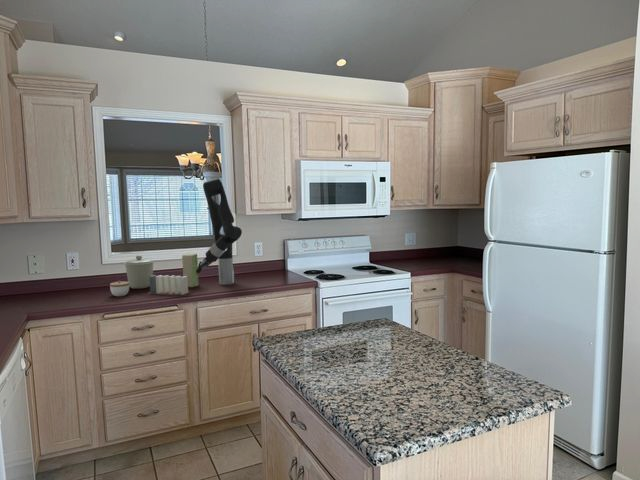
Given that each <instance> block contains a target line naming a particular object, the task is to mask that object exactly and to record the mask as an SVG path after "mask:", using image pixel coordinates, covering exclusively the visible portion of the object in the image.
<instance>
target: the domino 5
mask: <svg viewBox="0 0 640 480" xmlns="http://www.w3.org/2000/svg"><path fill="white" fill-rule="evenodd" d="M181 277H182V276H181V275H176V276H175V277H174V286H175V294H179V293H181V282H180V278H181Z"/></svg>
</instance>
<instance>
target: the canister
mask: <svg viewBox="0 0 640 480" xmlns="http://www.w3.org/2000/svg"><path fill="white" fill-rule="evenodd" d="M154 263H155V260H152V259H150V258H143V256H142V255H141V254H137V255H136V256H135V258H134V259H130V260H126V261H125V262H124V263H123V265H124V266H125V270H126V276H127V277H126V278H127V282H129V288H131V289H135V290H137V289H147V288H150V276H153V275H154Z"/></svg>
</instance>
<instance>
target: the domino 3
mask: <svg viewBox="0 0 640 480" xmlns="http://www.w3.org/2000/svg"><path fill="white" fill-rule="evenodd" d="M168 277H170V275H169V274H166V275H163V277H162V291H163V293H167V292H169V289H168Z"/></svg>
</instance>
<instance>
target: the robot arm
mask: <svg viewBox="0 0 640 480" xmlns="http://www.w3.org/2000/svg"><path fill="white" fill-rule="evenodd" d="M202 187H203V192H204V195H205V199H206V201H207V202H206V203H207V205H208V206H207V207H208V211H209V216H210V217H209V218H210V221H211V225H212V226H211V227H212V230H213V235H214V236H213V238H214V243H213V245H211V246H210V248H208V250H207V251H206V252H205V257H204V258H203V259H202V260H201V261H199V262H198V269H197V270H196V272H197V273H198V274H200V273H201V272H202V271H203V270H204V269H206V268H208V266H210V265H212V264H213V263H214V262H217V261H218V279H219V280H218V283H219V285H221V286H226V285H227V286H228V285H233V284H234V283H235V271H234V262H233V244H234V243H235V242H236V241H238V240H239V239H240V238H241V236H242V233H243V231H242V228H240V227H239V226H235V225H233V224H234V222H235V218H234V216H233V213H232V211H231V207H230V204H229V201H228V198H227V194H226V191H225V187H224V186H223V182H222V181H221V180H220V179H219V178H214V179H210V180H207V181H205V182H203V184H202ZM217 195H219V196H220V202H219V203H218V202H217V201H215V200H214V199H213V197H214V196H217ZM221 229H222V231H223V233H221Z"/></svg>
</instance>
